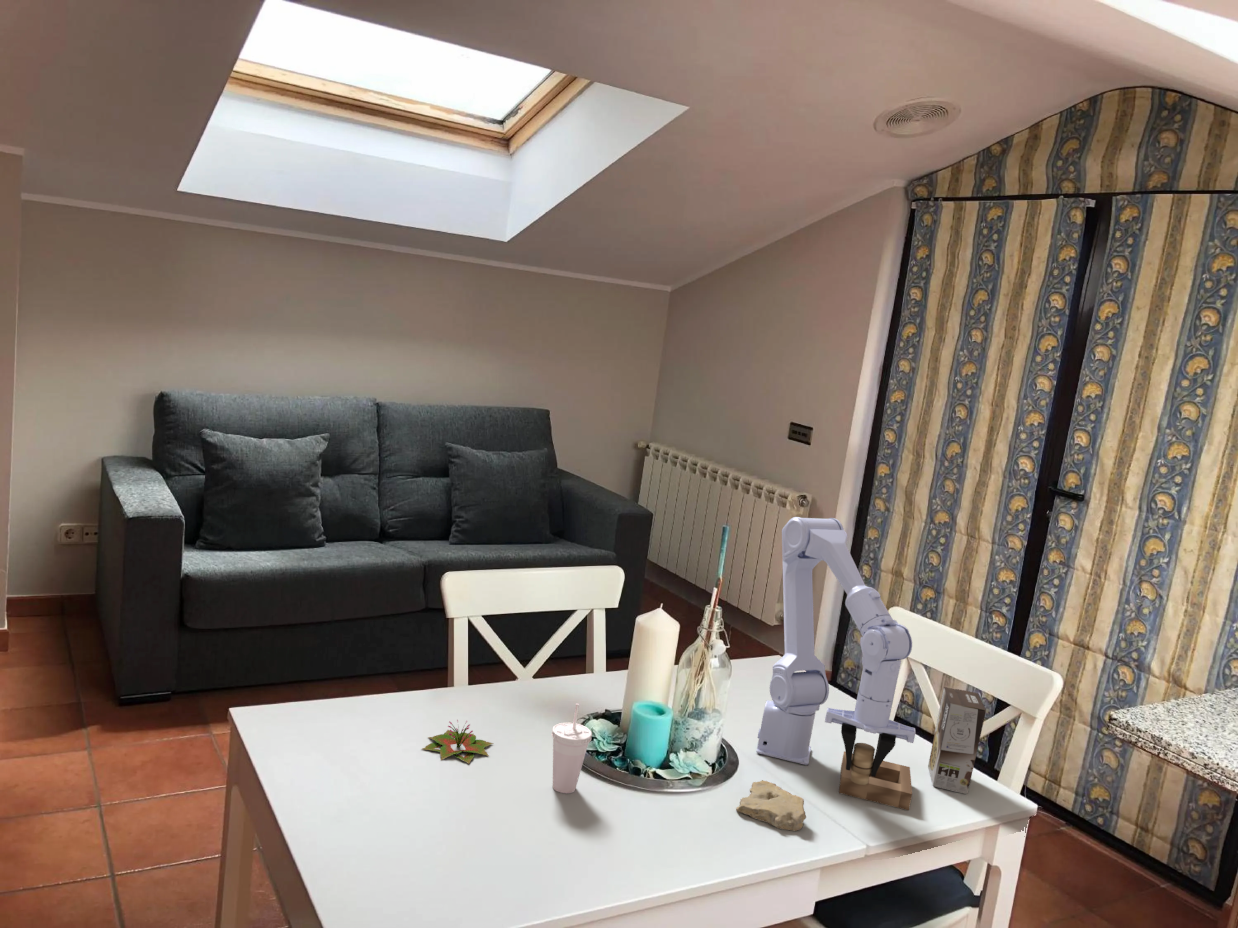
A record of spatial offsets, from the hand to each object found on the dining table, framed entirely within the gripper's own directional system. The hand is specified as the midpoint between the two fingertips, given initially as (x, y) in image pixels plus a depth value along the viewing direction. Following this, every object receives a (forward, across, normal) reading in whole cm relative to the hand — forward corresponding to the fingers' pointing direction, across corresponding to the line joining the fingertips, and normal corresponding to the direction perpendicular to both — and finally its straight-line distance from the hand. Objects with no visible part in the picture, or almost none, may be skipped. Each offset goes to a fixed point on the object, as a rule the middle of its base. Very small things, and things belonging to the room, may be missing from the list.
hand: (860, 770), depth 165 cm
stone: (+6, -14, -12) cm, 20 cm away
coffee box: (+6, +17, +18) cm, 25 cm away
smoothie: (+6, -45, -21) cm, 50 cm away
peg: (+2, 0, 0) cm, 2 cm away
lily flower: (+7, -66, -17) cm, 68 cm away
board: (+6, +3, +7) cm, 10 cm away
